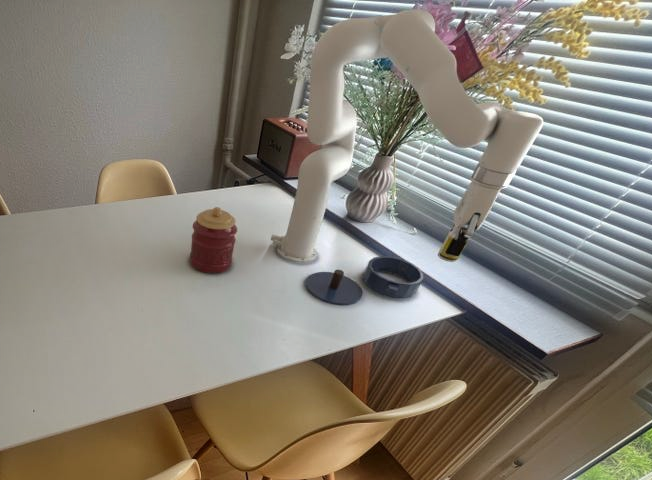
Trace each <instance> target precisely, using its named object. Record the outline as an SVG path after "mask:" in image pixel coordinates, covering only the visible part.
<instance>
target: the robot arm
mask: <svg viewBox="0 0 652 480" xmlns="http://www.w3.org/2000/svg"><path fill="white" fill-rule="evenodd" d="M435 22H436V21H435V18H434V16H433V15H432V14H431V12H429V11H428V10H425V9H423V8H422V9H421V8H419V9H418V8H416V9H415V8H414V9H405V10H401V11H399V12H397V13H395V14H389V15H388V14H387V15H379V16H374V17H361V18H360V17H356V18H348V19H345V20H344V19H343V20H341V21H338V22H337V23H335V24H333V25H331V26H330V27H329V28H328V29H327V30H326V31H325V32H323V33H322V35H321V36H320V38H319V39H318V40H317V42H316V44H315V45H314V48H313V51H312V54H311V58H310V67H309V68H310V70H309V71H310V72H309V76H310V77H309V92H308V105H307V106H308V107H307V120H306V121H307V122H306V136H307V138H308V140H309V142H310V143H311V144H313V145H316V146H321V148H320V149H318V150H316V151H313V152H311V153H310V154H308V155H307V156H306V157H305V158H304V159H303V161H301V163H300V166H299V169H298V175H297V185H296V191H295V196H294V200H293V204H292V205H293V206H292V210H291V214H290V217H289V220H288V221H289V222H288V225H287V229H286V232H285V233H286V234H285V235H281V236H279V235H277V234H271V237H270V241H272V244H273V245H278V246H277V253H278V255H280V257H282V258H284V259H285V260H286V261H287V260H288V261H291V262H294V263H300V264H301V263H302V264H304V263H305V264H306V263H311V262H313V261H315V259H317V255H318V252H317V250H316V249H315V245H316V242H317V239H318V236H319V233H320V230H321V226H322V223H323V220H324V216H325V213H326V209H327V206H328V203H329V197H330V187H331V185H332V183H333V182H335V181H336V180H339V179H341V178H342V177H344V176H345V175H346V174H347V173H348V172H349V171H350V169H351V167H352V163H353V159H354V150H355V144H356V143H355V142H356V134H357V125H358V118H357V117H358V116H357V112H356V109H355V107H354V106H353V105H352V104H351V103H350V102H349V101H347V100H344V93H345V85H346V84H345V75H344V67H345V66H346V65H348V64H351V63H356V62H362V61H368V60H377V59H389V60H390V62H391V63H392V64H393V65H394V67H396V69H397V70H398V71H399V73H401V75H402V76H403V77H404V78H405V80H406V81H407V82H408V83H409V84H410V85H411V86H412V88H413V89H414V91H416V93H417V95H418V98H419V101H420V102H421V105H422V107H423V109H424V111H425V114H426V115H427V117H428V118H429V120H430V122H431V123H432V124H433V126H434V127H435V128H436V129H437V130H438V131H439V133H440V134H441V135H442V136H443V138H445V140H446V141H447V142H448V143H449V144H451V145H452V146H454V147H456V148H458V149H469V148H472V147H475V146H477V145H479V144H480V143H487V145H486V147H485V149H484V151H483V152H482V155H481V156H480V159H479V160H478V163H477V164H476V166H475V168H474V170H473V172H472V174H471V176H470V178H469V179H470V183H469V184H468V186H467V188H466V189H465V191H464V193H463V195H462V197H461V198H460V200H459V202H458V203H457V205H456V207H455V209H454V211H453V222H454V224H453V226H452V228H450V231H453V228H454V226H456V227H457V228H458V227H460V228H459V230H458V232H457V234H456V236H455V238H453V239H452V241H451V242H450V244H449V246H448V248H447V250H446V254H449V255H454V256H459V257H460V256H461V255H462V253H463V251H464V250H465V248H466V246H467V244H468V242H469V241H470V239H471V237H472V236H473V233H474V232H477V231H478V230H480V228H481V227H482V225H483V223H484V222H485V220H486V218H487V217H488V215H489V213H490V211H491V210H492V207H493V206H494V203H495V201H496V200H497V198H498V196H499V194H500V192H501V190H503V189H506V188H508V186H509V184H510V183H511V181H512V179H513V178H514V176H515V175H516V173H517V170H518V169H519V167H520V166H521V164H522V162H523V160H524V159H525V157H526V155H527V154H528V152H529V150H530V149H531V147H532V145H533V144H534V142H535V140H536V138H537V137H538V135H539V134H540V132H541V130H542V128H543V125H544V119H543V117H541V116H540V115H538V114H536V113H532V112H527V111H521V110H512V109H510V108H506V107H504V106H502V105H499V104H496V103H494V102H481V103H476V102H475V101H474V100H473V98H472V97H471V96H470V95H469V94H468V93H467V91H466V90H465V89H464V87H463V85H462V84H461V82H460V79H459V77H458V73H457V72H458V71H457V67H458V66H457V65H458V64H457V59H456V56H455V54H454V53H453V52H452V51H451V50H450V48H448V46H447V45H446V44H445V42H443V40H442V39H441V38H440V37H439V36H438V35H437V34H436V23H435ZM464 225H468V227H463V226H464ZM462 230H466V231H465V232H462V233H461V231H462ZM468 240H469V241H468ZM465 245H466V246H465ZM464 247H465V248H464ZM463 249H464V250H463ZM461 252H462V253H461ZM460 254H461V255H460Z"/></svg>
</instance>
